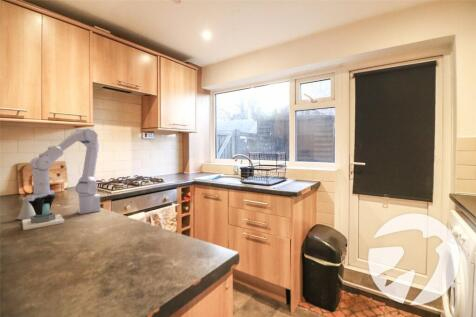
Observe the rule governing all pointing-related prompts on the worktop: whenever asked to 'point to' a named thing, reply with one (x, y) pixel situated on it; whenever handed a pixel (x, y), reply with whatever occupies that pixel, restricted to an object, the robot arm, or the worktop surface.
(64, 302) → the worktop surface
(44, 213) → the cap
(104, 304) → the worktop surface
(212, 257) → the worktop surface
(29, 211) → the flask
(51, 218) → the mount
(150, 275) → the worktop surface
